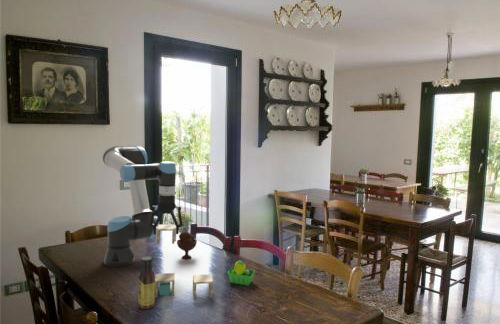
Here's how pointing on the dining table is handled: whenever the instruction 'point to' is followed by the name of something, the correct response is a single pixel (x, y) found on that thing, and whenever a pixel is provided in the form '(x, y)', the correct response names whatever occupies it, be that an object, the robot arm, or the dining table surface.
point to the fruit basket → (240, 274)
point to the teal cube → (164, 288)
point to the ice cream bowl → (186, 243)
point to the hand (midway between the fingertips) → (166, 240)
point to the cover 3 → (202, 280)
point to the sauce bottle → (146, 284)
